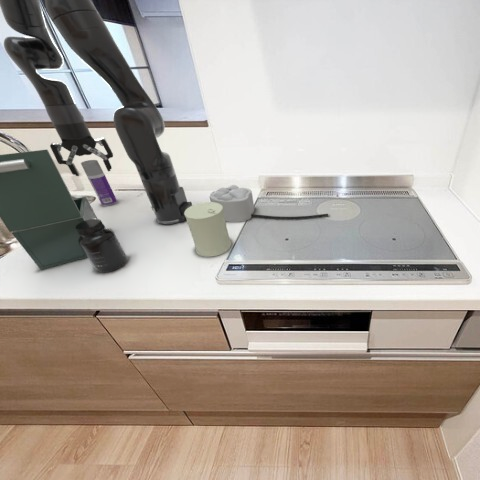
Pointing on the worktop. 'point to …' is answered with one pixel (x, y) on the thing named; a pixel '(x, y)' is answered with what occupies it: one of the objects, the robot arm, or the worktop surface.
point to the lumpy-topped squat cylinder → (234, 202)
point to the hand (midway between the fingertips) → (94, 172)
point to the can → (208, 228)
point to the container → (99, 182)
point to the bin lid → (33, 191)
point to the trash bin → (56, 239)
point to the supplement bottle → (100, 245)
